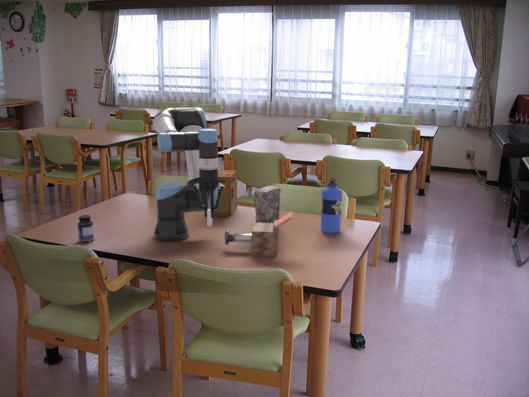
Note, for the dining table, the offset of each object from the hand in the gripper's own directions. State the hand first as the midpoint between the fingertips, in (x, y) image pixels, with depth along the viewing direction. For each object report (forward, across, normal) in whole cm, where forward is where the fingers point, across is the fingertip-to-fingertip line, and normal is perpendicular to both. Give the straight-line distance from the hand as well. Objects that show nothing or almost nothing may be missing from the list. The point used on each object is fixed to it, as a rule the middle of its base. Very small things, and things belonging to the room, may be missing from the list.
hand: (209, 225), depth 219 cm
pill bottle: (+10, -54, +4) cm, 56 cm away
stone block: (+10, +21, +28) cm, 36 cm away
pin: (+8, +15, 0) cm, 17 cm away
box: (+10, -3, +58) cm, 59 cm away
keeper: (-2, +30, 0) cm, 30 cm away
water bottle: (+10, +50, +30) cm, 59 cm away
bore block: (+10, +23, 0) cm, 25 cm away
